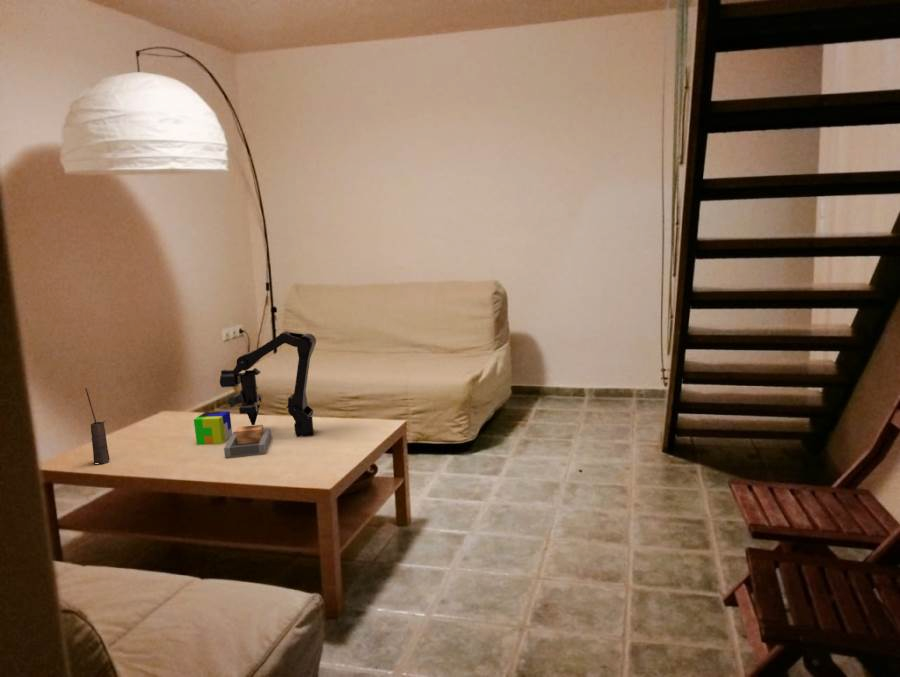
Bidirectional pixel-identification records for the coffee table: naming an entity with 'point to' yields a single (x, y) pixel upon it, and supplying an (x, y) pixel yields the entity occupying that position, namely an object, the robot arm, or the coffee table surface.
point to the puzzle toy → (213, 427)
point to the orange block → (249, 434)
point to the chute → (247, 446)
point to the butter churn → (98, 439)
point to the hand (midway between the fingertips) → (253, 424)
